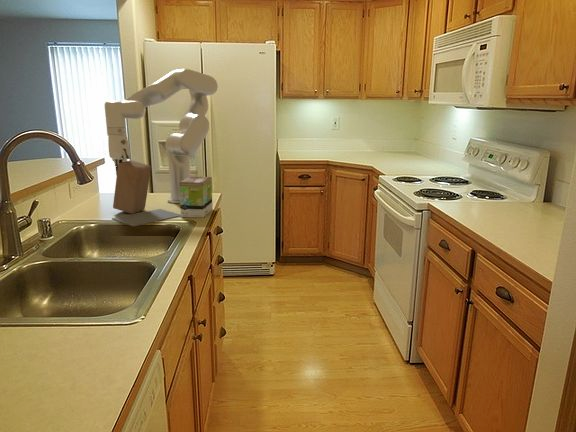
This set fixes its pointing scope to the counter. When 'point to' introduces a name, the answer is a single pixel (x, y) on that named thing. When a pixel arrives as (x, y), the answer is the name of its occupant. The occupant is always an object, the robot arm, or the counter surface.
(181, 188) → the tea box
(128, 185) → the block
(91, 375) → the counter surface
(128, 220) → the mat
